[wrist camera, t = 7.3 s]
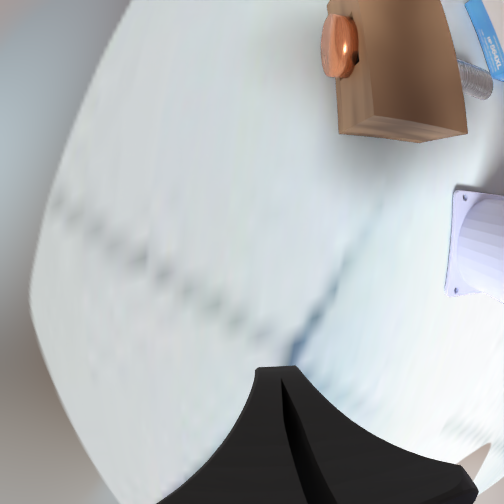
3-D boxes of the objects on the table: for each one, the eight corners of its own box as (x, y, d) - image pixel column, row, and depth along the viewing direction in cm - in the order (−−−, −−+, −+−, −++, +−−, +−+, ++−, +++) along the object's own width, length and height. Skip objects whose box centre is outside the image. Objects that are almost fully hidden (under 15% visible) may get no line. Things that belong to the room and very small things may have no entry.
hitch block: (401, 21, 15) (436, -10, 10) (418, 143, 17) (467, 133, 12) (326, 5, 15) (349, -37, 10) (338, 133, 17) (374, 115, 12)
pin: (462, 67, 16) (493, 53, 12) (470, 113, 16) (504, 105, 12) (318, 32, 15) (335, 1, 11) (323, 85, 16) (343, 61, 12)
